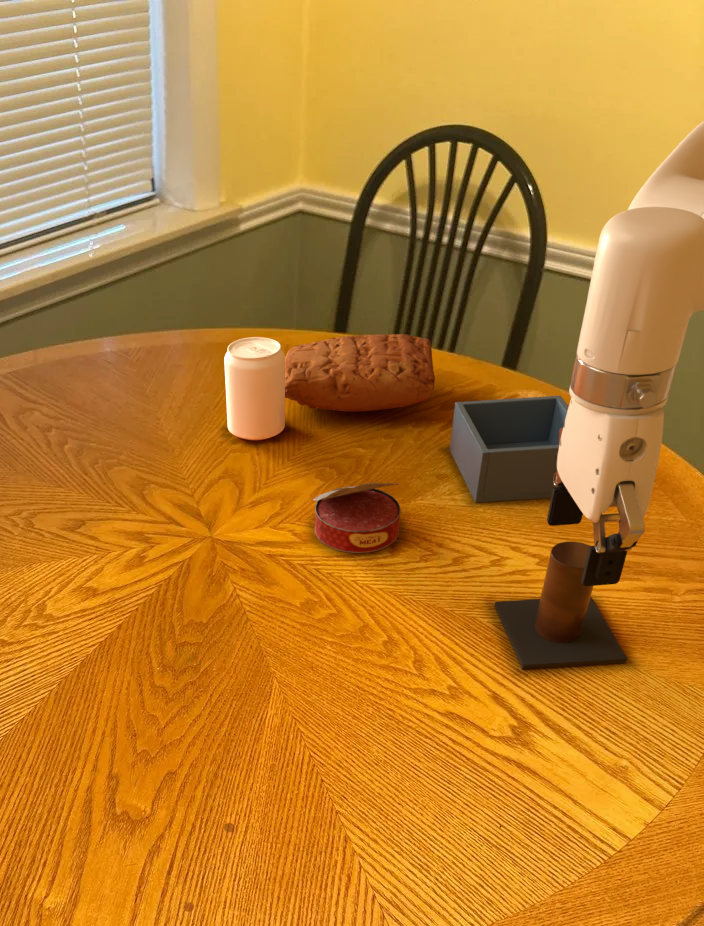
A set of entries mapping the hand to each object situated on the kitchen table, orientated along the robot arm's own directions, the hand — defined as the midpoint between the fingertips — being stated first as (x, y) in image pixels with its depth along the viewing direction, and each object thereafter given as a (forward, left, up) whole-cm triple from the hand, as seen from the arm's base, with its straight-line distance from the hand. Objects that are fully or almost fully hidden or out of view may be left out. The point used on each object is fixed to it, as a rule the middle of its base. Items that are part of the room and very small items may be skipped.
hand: (580, 552), depth 83 cm
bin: (-5, -32, -10) cm, 34 cm away
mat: (0, 0, -10) cm, 10 cm away
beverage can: (+27, -48, -10) cm, 56 cm away
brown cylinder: (+1, 0, -9) cm, 9 cm away
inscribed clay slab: (+12, -55, -10) cm, 57 cm away
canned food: (+17, -21, -10) cm, 29 cm away
